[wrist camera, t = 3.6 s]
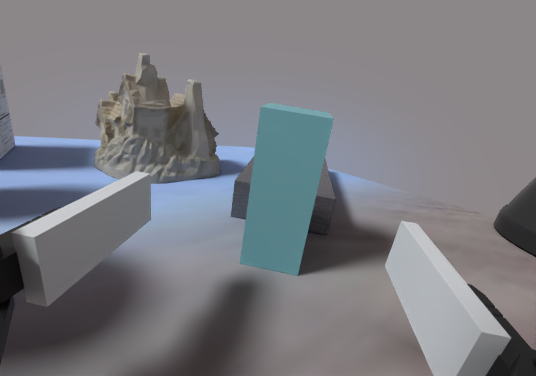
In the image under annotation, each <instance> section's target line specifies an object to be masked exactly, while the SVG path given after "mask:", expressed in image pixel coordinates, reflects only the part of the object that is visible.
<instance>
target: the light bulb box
mask: <svg viewBox="0 0 536 376" xmlns="http://www.w3.org/2000/svg"><path fill="white" fill-rule="evenodd" d="M14 146H15V141H14V135H13V130H12V125H11V119H10V113H9V108H8V103H7V98H6V92H5V87H4V81H3V75H2V69H1V65H0V159H1V158H2V157H3V156H4V155H5V154H7V153H8V152H9V151H10V150H11V149H12V148H13V147H14Z"/></svg>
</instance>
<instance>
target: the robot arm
mask: <svg viewBox="0 0 536 376" xmlns="http://www.w3.org/2000/svg"><path fill="white" fill-rule="evenodd" d="M150 220H151V185H150V174H149V173H144V172H139V171H136V172H134V173H132V174H130V175H128V176H126V177H124V178H122V179H120V180H118V181H116V182H114V183H111V184H109V185H107V186H105V187H103V188H101V189H99V190H97V191H95V192H93V193H91V194H89V195H87V196H85V197H83V198H81V199H79V200H77V201H75V202H73V203H71V204H68V205H66V206H64V207H60V208H56V209H53V210H51V211H49V212H47V213H45V214H43V215H42V216H39V217H36V218H34V219H32V221H28V222H26V223H24V224H22V225H20V226H18V227H16V228H13V229H11V230H9V231H7V232H5V233H3V234H1V235H0V363H1V359H2V355H3V351H4V346H5V342H6V338H7V334H8V330H9V326H10V321H11V317H12V313H13V309H14V305H15V304H14V299H13V295H15V294H16V293H18V292H19V291H20V290H22V289H23V288H24V293H25V297H26V302H28V303H32V304H37V305H41V306H45V307H48V306H49V305H50V304H51V303H53V302H54V301H55V300H56V299H57V298H59V297H60V296H61V295H62V294H63V293H64V292H66V291H67V290H68V289H69V288H70V287H72V286H73V285H74V284H75V283H76V282H77V281H79V280H80V279H81V278H82V277H83V276H85V275H86V274H87V273H88V272H89V271H90V270H92V269H93V268H94V267H95V266H96V265H98V264H99V263H100V262H101V261H102V260H103V259H105V258H106V257H107V256H108V255H109V254H111V253H112V252H113V251H114V250H115V249H116V248H118V247H119V246H120V245H121V244H122V243H124V242H125V241H126V240H127V239H128V238H130V237H131V236H132V235H133V234H134V233H135V232H137V231H138V230H139V229H140V228H141V227H143V226H144V225H145V224H146V223H147V222H148V221H150ZM494 227H495V228H496V230H497V231H498V232H499V233H500V234H502V235H503V236H504V237H505V238H507V239H508V240H510V241H511V242H513V243H514V244H516V245H518V246H519V247H521V248H523V249H525V250H526V251H528V252H530V253H532V254H534V255H536V178H535V179H534V180H532V181H531V182H530V183H529V184H528V185H527V186H526V187H525V188H524V189H523V190H522V191H521V192H520V193H519V194H518V195H517V196H516V197H515V198H514V199H513V200H512V201H511V202H510V203H509V204H508V205H506V206H504V207H503V208H502V209H501V210H500V212H499V214H498V216H497V218H496V220H495V222H494ZM385 268H386V270H387V272H388V274H389V277H390V279H391V281H392V283H393V286H394V288H395V290H396V292H397V295H398V297H399V299H400V301H401V304H402V306H403V308H404V310H405V313H406V315H407V317H408V319H409V322H410V324H411V326H412V328H413V331H414V333H415V335H416V337H417V340H418V342H419V344H420V346H421V349H422V351H423V353H424V355H425V358H426V360H427V362H428V364H429V367H430V369H431V371H432V373H433V376H536V350H533V349H531V347H530V346H529V345H528V344H527V343H526V342H525V341H524V339H523V338H522V337H521V336H520V335H519V334H518V332H517V331H516V330H515V329H514V328H513V327H512V326H511V324H510V323H509V322H508V321H507V320H506V319H505V318H503V315H502V314H501V313H500V312H499V311H498V309H496V308H495V306H494V305H493V304H492V302H491V301H490V300H489V299H488V298H487V297H486V296H485V295H484V294H483V293H482V292H480V291H479V290H478V289H476V288H475V287H474V286H472V285H470V284H466V282H465V281H464V280H463V279H462V278H461V276H460V275H459V274H458V273H457V271H456V270H455V269H454V268H453V267H452V265H451V264H450V263H449V262H448V261H447V259H446V258H445V257H444V256H443V255H442V253H441V252H440V251H439V250H438V248H437V247H436V246H435V245H434V244H433V242H432V241H431V240H430V239H429V238H428V236H427V235H426V234H425V233H424V231H423V230H422V229H421V228H420V227H419V225H418V224H416V223H411V222H405V221H401V223H400V226H399V229H398V232H397V234H396V237H395V240H394V242H393V245H392V248H391V251H390V253H389V256H388V259H387V262H386V264H385Z"/></svg>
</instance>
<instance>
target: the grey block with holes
mask: <svg viewBox="0 0 536 376" xmlns="http://www.w3.org/2000/svg"><path fill="white" fill-rule="evenodd" d="M253 162H254V157H253V158H252V159H251V161H250V162H249V163H248V165H247V166H246V167H245V168H244V170H243V171H242V172H241V173H240V175H239V176H238V177H237V178H236V180H235V184H234V193H233V202H232V211H231V216H232V217H237V218H242V219H246V214H247V207H248V199H249V192H250V184H251V177H252V169H253ZM335 200H336V199H335V195H334V191H333V187H332V183H331V180H330V176H329V172H328V168H327V164H326V160H325V159H324V163H323V168H322V172H321V176H320V181H319V185H318V189H317V194H316V198H315V202H314V207H313V211H312V216H311V220H310V224H309V229H308V232H313V233H318V234H323V235H327V231H328V227H329V223H330V219H331V215H332V211H333V207H334V204H335Z"/></svg>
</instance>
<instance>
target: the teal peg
mask: <svg viewBox="0 0 536 376" xmlns="http://www.w3.org/2000/svg"><path fill="white" fill-rule="evenodd" d="M333 120H334V118H333V117H332V116H331V115H330V114H329V113H327V112H321V111H315V110H309V109H303V108H296V107H291V106H285V105H279V104H273V103H269V104H266V105H264V106H261V109H260V117H259V124H258V132H257V140H256V147H255V154H254V162H253V169H252V177H251V184H250V192H249V199H248V207H247V214H246V222H245V229H244V237H243V245H242V252H241V260H240V264H245V265H249V266H254V267H259V268H264V269H268V270H273V271H278V272H283V273H287V274H292V275H297V276H298V272H299V268H300V264H301V259H302V255H303V250H304V246H305V242H306V237H307V233H308V229H309V224H310V220H311V216H312V211H313V207H314V202H315V198H316V194H317V189H318V185H319V181H320V176H321V172H322V168H323V163H324V159H325V155H326V150H327V146H328V141H329V137H330V133H331V128H332V124H333Z"/></svg>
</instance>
